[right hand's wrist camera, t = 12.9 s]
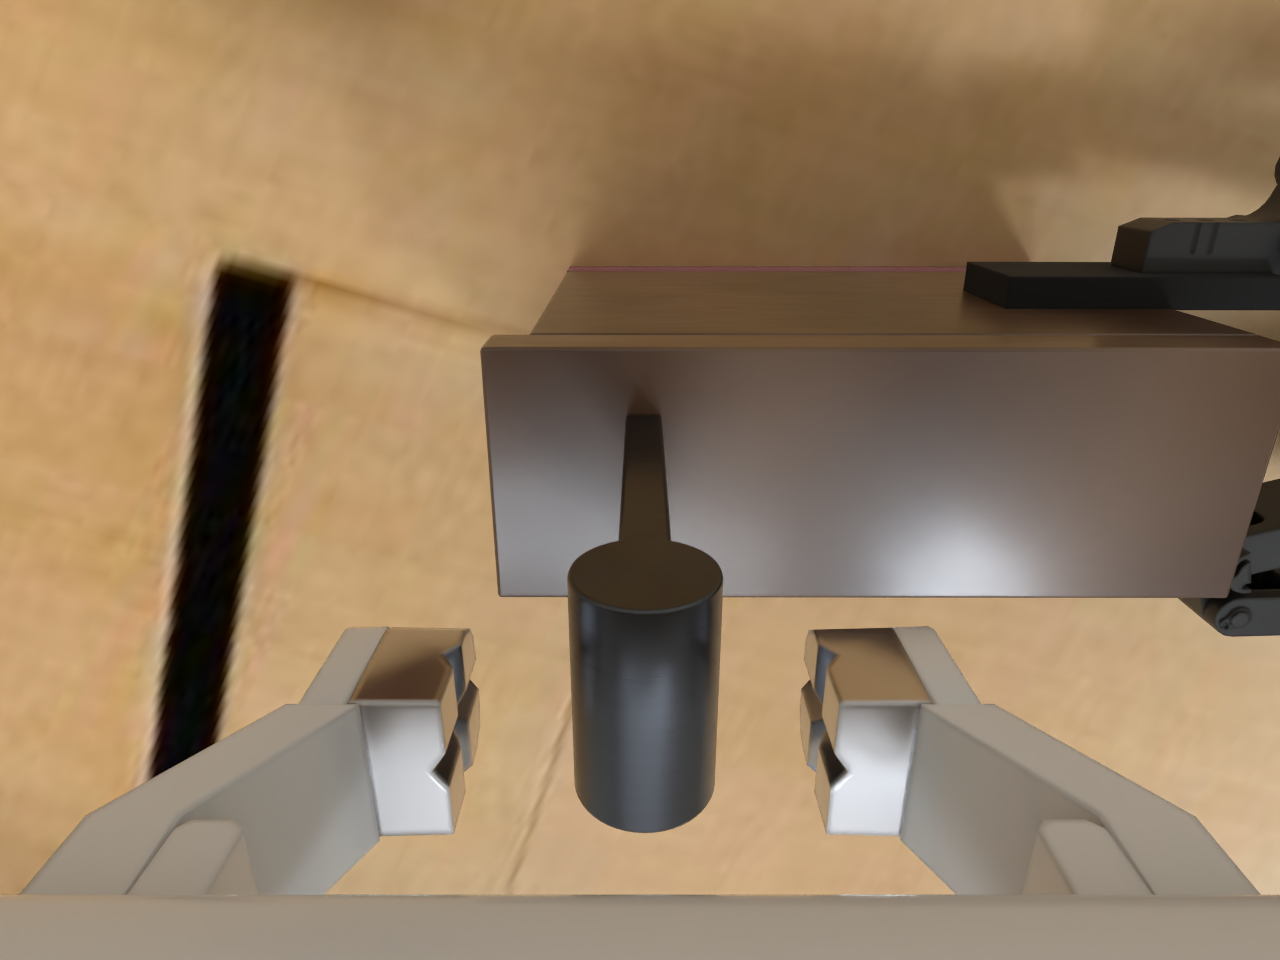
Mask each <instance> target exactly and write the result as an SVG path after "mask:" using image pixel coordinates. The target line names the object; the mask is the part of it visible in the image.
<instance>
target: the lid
mask: <svg viewBox="0 0 1280 960" xmlns="http://www.w3.org/2000/svg"><path fill="white" fill-rule="evenodd" d="M480 352H481V366H482V380H483V393H484V407H485V421H486V434H487V448H488V462H489V475H490V489H491V503H492V516H493V530H494V544H495V557H496V571H497V585H498V594H499V596H500V597H568V612H569V639H570V666H571V693H572V720H573V747H574V774H575V788H576V792H577V795H578V798H579V799H580V801H581V803H582V804H583V806H584V807H585V808H586V810H587V811H588V812H589V813H590V814H591V815H593V816H594V817H595V818H597V819H598V820H599V821H601V822H603V823H605V824H607V825H609V826H611V827H614V828H616V829H620V830H624V831H629V832H636V833H654V832H661V831H666V830H670V829H674V828H676V827H679V826H681V825H683V824H685V823H687V822H689V821H690V820H692V819H693V818H695V817H696V816H697V815H698V814H699V813H701V812H702V810H703V809H704V808H705V807H706V805H707V804H708V802H709V800H710V799H711V796H712V794H713V791H714V785H715V761H716V738H717V715H718V692H719V669H720V646H721V623H722V600H723V597H984V598H1226V597H1227V596H1228V594H1229V591H1230V587H1231V584H1232V581H1233V577H1234V574H1235V571H1236V568H1237V564H1238V561H1239V558H1240V555H1241V551H1242V548H1243V545H1244V541H1245V538H1246V535H1247V532H1248V528H1249V525H1250V522H1251V519H1252V515H1253V512H1254V509H1255V505H1256V502H1257V499H1258V496H1259V492H1260V489H1261V486H1262V483H1263V479H1264V476H1265V473H1266V469H1267V466H1268V463H1269V460H1270V456H1271V453H1272V450H1273V447H1274V443H1275V440H1276V437H1277V433H1278V430H1279V427H1280V342H1278V341H1275V340H1272V339H1268V338H1265V337H1262V336H1235V335H493V336H491V337H490V338H489V339H488V341H487V342H486V343H485V344H484V346H483V347H482V348H481V351H480Z"/></svg>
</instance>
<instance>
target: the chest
mask: <svg viewBox="0 0 1280 960" xmlns="http://www.w3.org/2000/svg"><path fill="white" fill-rule="evenodd" d="M965 274H966V267H570V268H569V269H568V271H567V274H566V276H565V278H564V279H563V281H562V283H561V284H560V286H559V288H558V289H557V291H556V293H555V294H554V296H553V297H552V299H551V301H550V302H549V304H548V306H547V307H546V309H545V311H544V312H543V314H542V316H541V317H540V319H539V321H538V322H537V324H536V325H535V327H534V329H533V330H532V332H531V334H530V335H1235V336H1256V335H1255V334H1253V333H1250V332H1246V331H1243V330H1240V329H1236V328H1233V327H1230V326H1226V325H1223V324H1220V323H1216V322H1213V321H1210V320H1206V319H1203V318H1200V317H1196V316H1193V315H1190V314H1186V313H1183V312H1180V311H1176V310H1173V309H1005V308H1002V307H1000V306H998V305H996V304H993V303H991V302H989V301H986V300H984V299H982V298H979V297H977V296H975V295H972V294H970V293H968V292H966V291H963V287H964V281H965Z"/></svg>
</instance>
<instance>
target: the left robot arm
mask: <svg viewBox="0 0 1280 960" xmlns="http://www.w3.org/2000/svg"><path fill="white" fill-rule="evenodd" d="M1274 176H1275V179H1276V182H1277V184H1278V185H1277V186H1276V188H1275V189H1274V191H1273V193H1272V194H1271V196H1270V197H1269V198H1268V200H1267V201H1266V202H1265V204H1263V205H1262V206H1261V207H1260V208H1259V209H1258V210H1256V211H1255V212H1253V213H1251V214H1249V215H1246V216H1244V215H1234V216H1231V217H1228V218H1139V219H1136V220H1133V221H1131V222H1128V223H1126V224H1123V225H1120V226H1119V227H1118V232H1117V236H1116V241H1115V246H1114V251H1113V255H1112V260H1111V262H967V267H966V274H965V281H964V287H963V291H966V292H968V293H970V294H972V295H975V296H977V297H979V298H982V299H984V300H986V301H989V302H991V303H993V304H996V305H998V306H1000V307H1002V308H1005V309H1173V310H1280V157H1279V159H1278V161H1277V164H1276V166H1275V175H1274ZM1178 599H1180V600H1181V601H1182V602H1183V603H1184V604H1186V605H1187V606H1188V607H1189V608H1190V609H1192V610H1193V611H1194V612H1195V613H1196V614H1198V615H1199V616H1200V617H1201V618H1202V619H1204V620H1205V621H1206V622H1207V623H1209V624H1210V625H1211V626H1212V627H1213V628H1215V629H1216V630H1217V631H1218V632H1220V633H1221V634H1223V635H1225V636H1232V637H1233V636H1271V635H1280V479H1277V480H1272V481H1268V482H1264V483H1262V486H1261V489H1260V492H1259V496H1258V499H1257V502H1256V505H1255V509H1254V512H1253V515H1252V519H1251V522H1250V525H1249V528H1248V532H1247V535H1246V538H1245V541H1244V545H1243V548H1242V551H1241V555H1240V558H1239V561H1238V564H1237V568H1236V571H1235V574H1234V577H1233V581H1232V584H1231V587H1230V591H1229V594H1228V596H1227V597H1226V598H1178Z"/></svg>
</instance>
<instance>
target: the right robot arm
mask: <svg viewBox="0 0 1280 960" xmlns="http://www.w3.org/2000/svg"><path fill="white" fill-rule="evenodd" d="M475 660H476V656H475V647H474V639H473V635H472V633H471V630H470V629H458V628H407V627H392V628H389V627H352V628H349V629H346V630H345V631H344V632H343V634H342V635H341V637H340V638H339V640H338V642H337V643H336V645H335V646H334V648H333V650H332V651H331V653H330V654H329V656H328V658H327V659H326V661H325V662H324V664H323V666H322V667H321V669H320V670H319V672H318V674H317V675H316V677H315V678H314V680H313V682H312V683H311V685H310V686H309V688H308V690H307V691H306V693H305V694H304V696H303V698H302V699H301V701H300V702H299V704H285V705H284V706H282V707H280V708H278V709H276V710H275V711H273V712H271V713H269V714H267V715H266V716H264V717H262V718H260V719H258V720H257V721H255V722H253V723H251V724H249V725H248V726H246V727H244V728H242V729H240V730H239V731H237V732H235V733H233V734H231V735H230V736H228V737H226V738H224V739H222V740H221V741H219V742H217V743H215V744H213V745H212V746H210V747H208V748H206V749H205V750H203V751H201V752H199V753H197V754H196V755H194V756H192V757H190V758H188V759H187V760H185V761H183V762H181V763H179V764H178V765H176V766H174V767H172V768H170V769H169V770H167V771H165V772H163V773H161V774H160V775H158V776H156V777H154V778H152V779H151V780H149V781H147V782H145V783H143V784H142V785H140V786H138V787H136V788H134V789H133V790H131V791H129V792H127V793H125V794H124V795H122V796H120V797H118V798H116V799H115V800H113V801H111V802H109V803H107V804H106V805H104V806H102V807H100V808H99V809H97V810H95V811H93V812H91V813H90V814H88V815H86V816H85V817H84V818H83V819H82V821H81V822H80V823H79V824H78V825H77V827H76V828H75V829H74V830H73V831H72V832H71V834H70V835H69V836H68V837H67V838H66V840H65V841H64V842H63V843H62V844H61V846H60V847H59V848H58V849H57V850H56V852H55V853H54V854H53V855H52V856H51V857H50V859H49V860H48V861H47V862H46V863H45V865H44V866H43V867H42V868H41V869H40V871H39V872H38V873H37V874H36V875H35V876H34V878H33V879H32V880H31V881H30V882H29V884H28V885H27V886H26V887H25V888H24V890H23V891H22V892H21V893H20V894H19V895H0V960H1280V895H1261V894H1260V893H1259V892H1258V891H1257V890H1256V888H1255V887H1254V886H1253V885H1252V884H1251V882H1250V881H1249V880H1248V879H1247V878H1246V876H1245V875H1244V874H1243V873H1242V872H1241V870H1240V869H1239V868H1238V867H1237V866H1236V865H1235V863H1234V862H1233V861H1232V860H1231V859H1230V857H1229V856H1228V855H1227V854H1226V853H1225V851H1224V850H1223V849H1222V848H1221V847H1220V845H1219V844H1218V843H1217V842H1216V841H1215V839H1214V838H1213V837H1212V836H1211V835H1210V833H1209V832H1208V831H1207V830H1206V829H1205V827H1204V826H1203V825H1202V824H1201V823H1200V821H1199V820H1198V819H1197V818H1196V817H1195V816H1193V815H1191V814H1190V813H1188V812H1186V811H1184V810H1183V809H1181V808H1179V807H1177V806H1175V805H1174V804H1172V803H1170V802H1168V801H1166V800H1165V799H1163V798H1161V797H1159V796H1157V795H1156V794H1154V793H1152V792H1150V791H1148V790H1147V789H1145V788H1143V787H1141V786H1140V785H1138V784H1136V783H1134V782H1132V781H1131V780H1129V779H1127V778H1125V777H1123V776H1122V775H1120V774H1118V773H1116V772H1114V771H1113V770H1111V769H1109V768H1107V767H1106V766H1104V765H1102V764H1100V763H1098V762H1097V761H1095V760H1093V759H1091V758H1089V757H1088V756H1086V755H1084V754H1082V753H1080V752H1079V751H1077V750H1075V749H1073V748H1072V747H1070V746H1068V745H1066V744H1064V743H1063V742H1061V741H1059V740H1057V739H1055V738H1054V737H1052V736H1050V735H1048V734H1046V733H1045V732H1043V731H1041V730H1039V729H1037V728H1036V727H1034V726H1032V725H1030V724H1029V723H1027V722H1025V721H1023V720H1021V719H1020V718H1018V717H1016V716H1014V715H1012V714H1011V713H1009V712H1007V711H1005V710H1003V709H1002V708H1000V707H998V706H996V705H995V704H981V703H980V701H979V699H978V698H977V696H976V695H975V693H974V692H973V690H972V688H971V687H970V685H969V684H968V682H967V681H966V679H965V677H964V676H963V674H962V673H961V671H960V669H959V668H958V666H957V665H956V663H955V662H954V660H953V658H952V657H951V655H950V654H949V652H948V651H947V649H946V647H945V646H944V644H943V643H942V641H941V639H940V638H939V636H938V635H937V633H936V632H935V630H934V629H932V628H930V627H928V626H923V627H897V628H865V629H825V630H809V631H808V635H807V639H806V644H805V654H804V660H805V664H806V667H807V670H808V673H809V677H810V680H809V681H808V682H807V683H806V685H805V686H804V687H803V688H802V689H801V704H800V725H801V738H802V744H803V750H804V754H805V758H806V762H807V765H808V766H809V767H810V768H812V769H813V770H814V771H815V772H816V781H815V795H816V799H817V802H818V806H819V809H820V813H821V816H822V820H823V823H824V827H825V831H826V834H841V835H877V836H901V837H900V840H901V841H902V842H903V843H904V844H905V845H906V846H907V847H908V848H909V849H910V850H911V851H912V852H913V853H914V854H915V855H916V856H918V857H919V858H920V859H921V860H922V861H923V862H924V863H925V864H926V865H927V866H928V867H929V868H930V869H931V870H932V871H933V872H934V873H935V874H936V875H937V876H938V877H939V878H940V879H941V880H942V881H943V882H944V883H945V884H946V885H947V886H948V887H949V888H950V889H951V890H952V891H953V892H954V893H955V894H956V895H324V894H325V893H326V892H327V891H328V890H329V889H330V888H331V887H332V886H333V885H334V884H335V883H336V882H337V881H338V880H339V879H340V878H341V877H342V876H343V875H344V874H345V873H346V872H347V871H348V870H349V869H351V868H352V867H353V866H354V865H355V864H356V863H357V862H358V861H359V860H360V859H361V858H362V857H363V856H364V855H365V854H366V853H367V852H368V851H369V850H370V849H371V848H372V847H373V846H374V845H375V844H376V843H377V842H378V841H379V836H402V835H437V834H454V831H455V827H456V823H457V820H458V816H459V813H460V809H461V806H462V802H463V798H464V795H465V782H464V772H465V771H466V770H467V769H468V768H470V767H471V766H472V765H473V762H474V758H475V754H476V750H477V744H478V735H479V727H480V702H479V689H478V688H477V687H476V686H475V685H474V684H473V682H472V681H471V680H470V676H471V673H472V670H473V667H474V663H475Z"/></svg>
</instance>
